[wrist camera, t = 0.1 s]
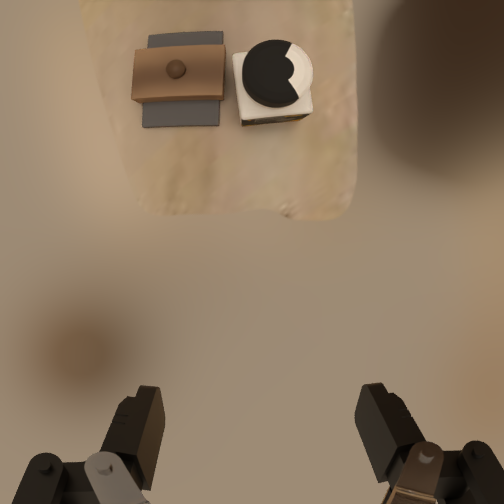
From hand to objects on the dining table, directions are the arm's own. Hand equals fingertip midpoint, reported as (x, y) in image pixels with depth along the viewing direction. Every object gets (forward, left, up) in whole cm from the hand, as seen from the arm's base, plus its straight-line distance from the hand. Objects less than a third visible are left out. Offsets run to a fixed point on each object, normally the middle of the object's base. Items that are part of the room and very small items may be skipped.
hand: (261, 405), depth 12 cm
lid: (-19, -8, -28) cm, 35 cm away
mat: (-19, -8, -29) cm, 36 cm away
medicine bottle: (-17, +2, -29) cm, 34 cm away
